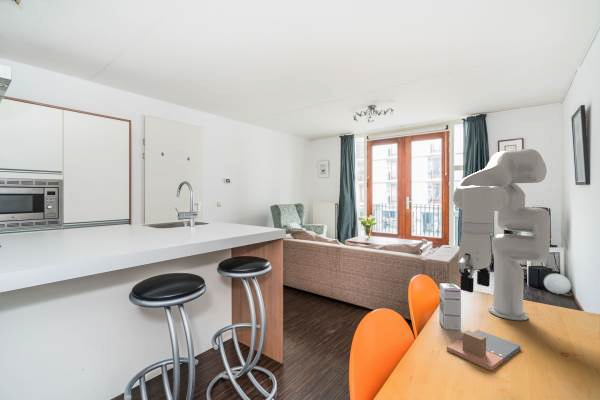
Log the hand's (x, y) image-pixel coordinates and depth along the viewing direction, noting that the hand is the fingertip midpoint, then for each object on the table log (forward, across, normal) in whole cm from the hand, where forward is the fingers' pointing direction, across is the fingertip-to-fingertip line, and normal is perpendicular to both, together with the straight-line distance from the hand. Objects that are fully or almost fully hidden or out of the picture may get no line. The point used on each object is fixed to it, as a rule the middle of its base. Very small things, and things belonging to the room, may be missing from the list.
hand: (475, 288), depth 82 cm
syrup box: (+20, -13, -14) cm, 28 cm away
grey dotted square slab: (+20, -10, 0) cm, 22 cm away
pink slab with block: (+20, 0, 0) cm, 20 cm away
